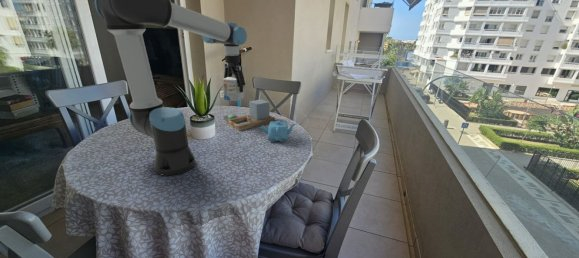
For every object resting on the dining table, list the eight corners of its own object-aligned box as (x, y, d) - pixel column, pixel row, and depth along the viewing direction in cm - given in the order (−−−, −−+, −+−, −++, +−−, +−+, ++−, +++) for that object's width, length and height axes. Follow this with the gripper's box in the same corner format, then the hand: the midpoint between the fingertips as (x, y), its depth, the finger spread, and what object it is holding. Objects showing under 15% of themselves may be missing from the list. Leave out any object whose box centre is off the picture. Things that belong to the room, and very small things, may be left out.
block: (269, 120, 148) (269, 102, 144) (257, 124, 143) (256, 104, 138) (261, 117, 154) (261, 99, 150) (249, 120, 148) (249, 101, 144)
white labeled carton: (223, 100, 131) (221, 78, 127) (231, 96, 139) (230, 76, 134) (237, 101, 129) (236, 79, 125) (245, 97, 137) (244, 77, 132)
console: (239, 121, 148) (239, 117, 147) (229, 124, 144) (229, 119, 143) (233, 118, 153) (233, 114, 152) (223, 121, 149) (223, 116, 148)
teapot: (259, 144, 119) (259, 125, 116) (262, 133, 132) (262, 116, 129) (295, 145, 119) (296, 126, 115) (295, 134, 132) (296, 117, 129)
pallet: (274, 123, 148) (274, 117, 147) (239, 132, 132) (239, 126, 131) (261, 117, 158) (261, 112, 156) (227, 125, 142) (226, 119, 141)
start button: (236, 120, 148) (235, 115, 147) (230, 121, 146) (229, 117, 145) (232, 118, 151) (232, 114, 150) (227, 119, 148) (226, 115, 147)
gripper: (251, 56, 120) (252, 99, 128) (227, 52, 136) (230, 90, 144) (237, 57, 115) (240, 101, 123) (215, 53, 131) (218, 92, 139)
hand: (235, 95), depth 134 cm, fingers closed on white labeled carton, 11 cm apart
